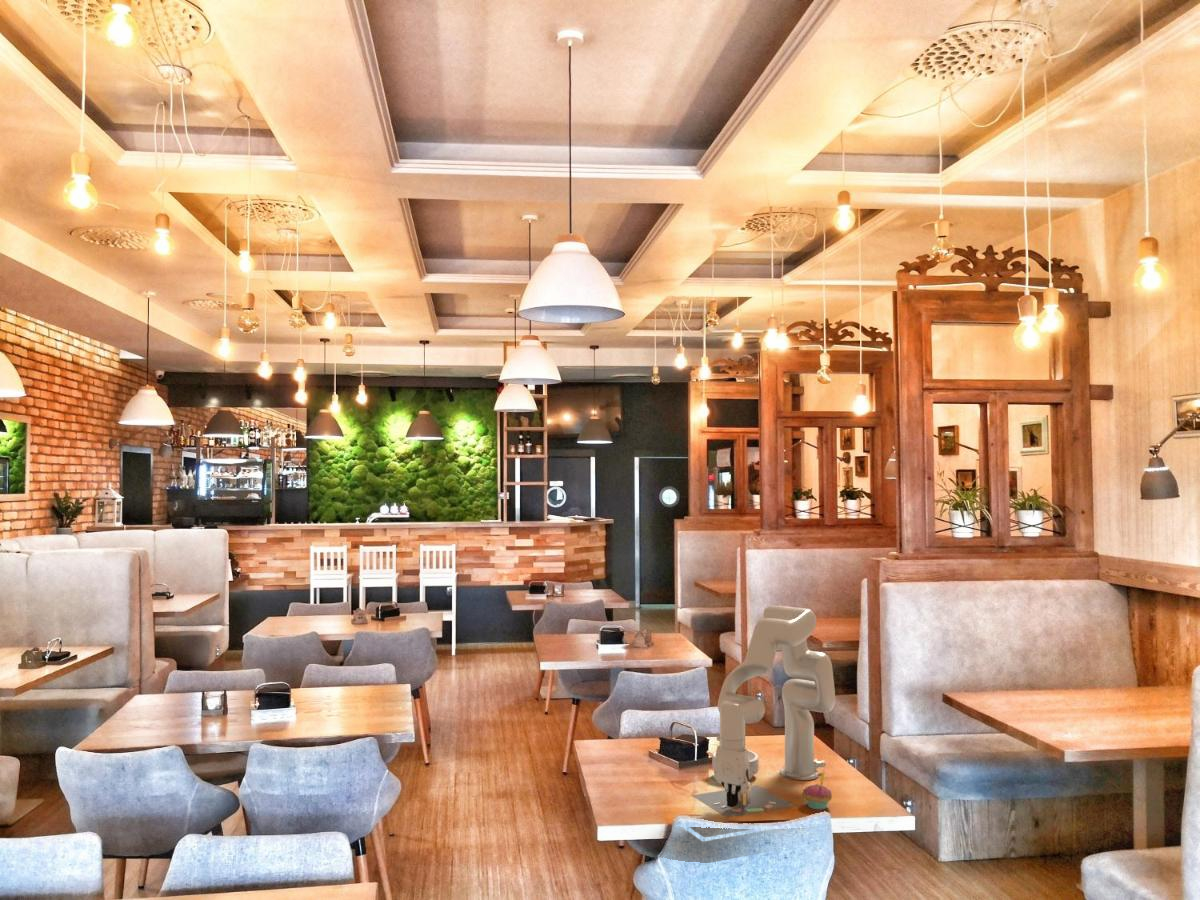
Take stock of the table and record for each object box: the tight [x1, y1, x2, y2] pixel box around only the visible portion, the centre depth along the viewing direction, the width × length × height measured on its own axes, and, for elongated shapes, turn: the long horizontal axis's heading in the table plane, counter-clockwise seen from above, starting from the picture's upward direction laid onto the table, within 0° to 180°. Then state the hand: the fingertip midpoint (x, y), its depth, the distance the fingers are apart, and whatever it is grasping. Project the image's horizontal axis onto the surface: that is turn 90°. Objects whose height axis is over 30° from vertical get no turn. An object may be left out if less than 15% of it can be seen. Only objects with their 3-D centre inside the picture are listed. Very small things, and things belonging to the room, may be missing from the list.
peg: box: [738, 781, 752, 805], centre depth 277 cm, size 13×5×5 cm, turn 174°
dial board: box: [691, 785, 795, 818], centre depth 281 cm, size 24×20×1 cm
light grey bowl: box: [711, 749, 760, 780], centre depth 305 cm, size 15×15×8 cm
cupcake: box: [802, 769, 833, 810], centre depth 277 cm, size 9×8×12 cm
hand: (732, 805), depth 273 cm, fingers closed
